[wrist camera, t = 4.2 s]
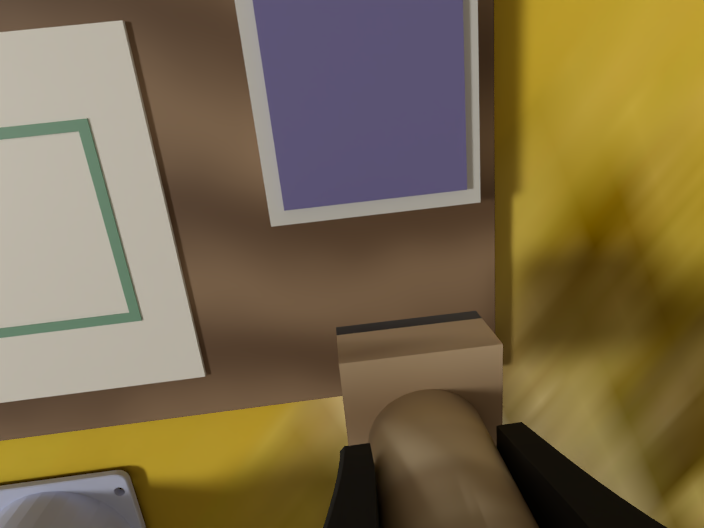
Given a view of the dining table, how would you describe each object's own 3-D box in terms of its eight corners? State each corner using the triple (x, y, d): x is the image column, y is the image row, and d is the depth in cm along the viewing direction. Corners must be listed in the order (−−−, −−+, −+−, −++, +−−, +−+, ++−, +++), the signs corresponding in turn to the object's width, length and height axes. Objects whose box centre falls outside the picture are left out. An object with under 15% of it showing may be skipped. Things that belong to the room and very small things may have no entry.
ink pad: (470, 197, 18) (483, 203, 17) (273, 219, 18) (270, 228, 17) (465, -62, 16) (479, -80, 14) (232, -40, 15) (224, -56, 14)
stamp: (477, 453, 14) (612, 740, 8) (353, 469, 14) (382, 775, 8) (476, 310, 13) (641, 516, 6) (335, 327, 13) (353, 556, 6)
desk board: (487, 364, 22) (495, 375, 21) (-84, 439, 21) (-103, 454, 20) (482, -70, 16) (493, -81, 16) (-295, 3, 15) (-335, -5, 14)
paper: (206, 374, 20) (204, 377, 20) (-74, 409, 20) (-79, 413, 19) (124, 21, 16) (121, 20, 15) (-238, 57, 15) (-247, 55, 15)
